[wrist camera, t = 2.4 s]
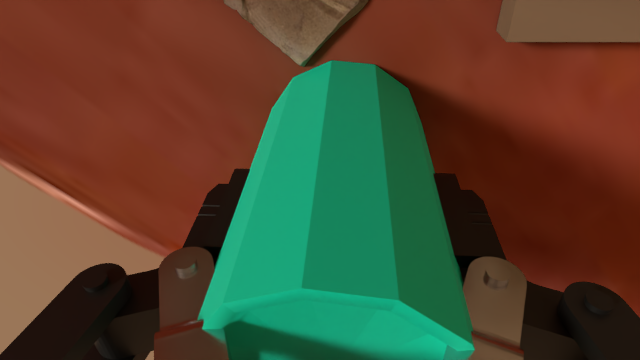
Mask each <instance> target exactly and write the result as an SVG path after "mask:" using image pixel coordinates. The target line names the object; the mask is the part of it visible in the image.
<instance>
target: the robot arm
mask: <svg viewBox="0 0 640 360" xmlns="http://www.w3.org/2000/svg"><path fill="white" fill-rule="evenodd" d="M249 171H250V169H235V170H234V172H233V174H232V177H231V179H230V182H229V184H218V185H217V186H216V187H214V188H213V189H212V190H211V191H210V192H209V193H208V194H207V196H206V198H205V200H204V203H203V207H201V209H200V211H199V213H198V216H197V218H196V220H195V222H194V224H193V226H192V228H191V231H190V233H189V235H188V237H187V239H186V241H185V243H184V246H183V248H181V249H179V250H176V251H174V252H172V253H171V254H169V255H168V256H167V257H166V258H165V259H164V260H163V261H162V262H161V264H160V267H159V268H157V269H154V270H150V271H147V272H142V273H137V274H132V275H126V273H125V271H124V269H123V268H122V267H121V266H119V265H116V264H112V263H105V264H99V265H95V266H93V267H90V268H88V269H86V270H84V271H82V272H81V273H80V274H78V275H77V276H76V277H75V278H74V279H73V280H72V281H71V282H70V283H69V284H68V285H67V286H66V287H65V288H64V289H63V290H62V291H61V292H60V293H59V294H58V295H57V296H56V297H55V298H54V299H53V300H52V301H51V303H50V304H49V305H48V306H47V307H46V308H45V309H44V310H43V311H42V312H41V313H40V314H39V315H38V316H37V317H36V318H35V319H34V320H33V321H32V322H31V323H30V324H29V325H28V326H27V327H26V328H25V330H24V331H23V332H22V333H21V334H20V335H19V336H18V337H17V338H16V339H15V340H14V341H13V342H12V343H11V344H10V345H9V346H8V347H7V348H6V349H5V350H4V351H3V352H2V353H1V354H0V360H145V359H146V357H147V356H148V354H149V353H150V351H153V350H154V360H232V357H231V353H230V349H229V345H228V341H227V337H226V333H225V330H224V328H222V329H202V327H203V324H204V320H203V319H201V320H198V316H199V313H200V311H201V308H202V305H203V302H204V299H205V297H206V294H207V291H208V288H209V286H210V283H211V280H212V277H213V274H214V272H215V264H216V261H217V259H218V256H219V253H220V250H221V248H222V246H223V243H224V240H225V238H226V235H227V232H228V229H229V227H230V224H231V221H232V218H233V216H234V213H235V210H236V207H237V205H238V202H239V199H240V196H241V194H242V191H243V188H244V185H245V183H246V180H247V177H248V174H249ZM433 175H434V179H435V183H436V187H437V191H438V195H439V198H440V202H441V206H442V210H443V214H444V218H445V221H446V225H447V229H448V233H449V237H450V241H451V244H452V248H453V252H454V256H455V258H456V261H457V263H458V265H459V268H460V272H461V275H462V279H463V283H464V285H463V292H464V296H465V300H466V304H467V308H468V312H469V316H470V319H471V323H472V327H473V331H471V335H472V340H473V344H474V348H475V350H466V351H456V350H455V349H454V348H452V347H450V346H449V345H447V347H446V351H445V354H444V358H443V360H640V318H639V317H638V316H637V314H636V313H635V312H634V311H633V310H632V309H631V308H630V307H629V305H628V304H627V303H626V302H625V301H624V300H623V299H622V298H621V297H620V296H619V295H617V294H616V293H614V292H613V291H611V290H610V289H608V288H606V287H603V286H601V285H598V284H595V283H590V282H576V283H573V284H570V285H569V286H568V287H567V288H566V289H565V291H564V292H560V291H557V290H553V289H549V288H546V287H542V286H539V285H536V284H533V283H531V282H529V281H527V280H526V278H525V276H524V274H523V273H522V271H521V270H520V269H519V268H518V267H516V266H515V265H514V264H512V263H510V262H508V261H507V260H506V258H505V255H504V252H503V250H502V247H501V245H500V242H499V240H498V237H497V235H496V232H495V230H494V227H493V225H492V222H491V220H490V217H489V215H488V212H487V209H486V207H485V204H484V202H483V200H482V199H481V198H480V197H479V196H478V195H477V194H475V193H474V192H473V191H472V190H461V189H460V186H459V183H458V180H457V177H456V175H455V174H446V173H433Z"/></svg>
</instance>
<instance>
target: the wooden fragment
mask: <svg viewBox="0 0 640 360" xmlns="http://www.w3.org/2000/svg"><path fill="white" fill-rule="evenodd" d="M367 2H368V0H224V3H225V4H226V5H228V6H229V7H231V8H232V9H235V10H237V11H238V13H239V14H240V15H241V16H242V18H243V19H245V20H247V21H248V22H250V23H251V24H253V25H254V27H255V28H256V29H257V30H258V31H259V32H260V33H261V34H263V35H264V36H265V37H266V38H267V39H269V40H270V41H271V42H272V43H274V44H275V45H276V46H278V47H279V48H280V49H281V51H282V52H283V53H285V54H286V55H288V56H289V57H290V58H291V59H293V60H294V61H295V62H296V63H297V64H299V65H300V66H303V67H304V66H305V65H306V64H307V62H308V61H309V60H310V58H311V57H312V56H313V55H314V54H315V53H316V52H317V51H318V50H319V48H321V46H322V45H323V44H324V43H325V42H326V41H327V40H328V39H329V38H330V37H331V36H332V35H333V34H334V33H335V32H336V31H337V30H338V29H339V28H340V27H341V26H342V25H343V24H345V23H346V22H347V21H348V20H350V19H351V18H352V17H353V16H355V15H356V14H357V13H358V12H359V11H360V10H361V9H362V8H363V7H364V6H365V5H366V4H367Z"/></svg>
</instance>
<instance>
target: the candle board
mask: <svg viewBox="0 0 640 360" xmlns="http://www.w3.org/2000/svg"><path fill="white" fill-rule="evenodd" d="M496 31H497V32H498V33H499V34H500V35H501V36H502V38H503V39H504V40H505V41H506V42H640V0H503V1H502V6H501V11H500V15H499V20H498V24H497V29H496Z"/></svg>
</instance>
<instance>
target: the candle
mask: <svg viewBox="0 0 640 360" xmlns="http://www.w3.org/2000/svg"><path fill="white" fill-rule="evenodd" d="M433 173H435V171H434V168H433V164H432V160H431V156H430V153H429V149H428V145H427V141H426V138H425V134H424V130H423V127H422V123H421V120H420V118H419V115H418V112H417V110H416V107H415V105H414V102H413V99H412V97H411V94H410V92H409V89H408V88H407V87H405V86H404V85H403V84H401V83H400V82H399V81H397V80H396V79H394V78H393V77H392V76H390V75H389V74H387V73H386V72H385V71H383V70H382V69H380V68H379V67H378V66H376V65H375V64H364V63H354V62H344V61H334V60H331V61H329V62H327V63H324V64H322V65H320V66H318V67H315V68H313V69H311V70H309V71H306V72H304V73H302V74H300V75H297V76H295V77H293V79H292V80H291V81H290V83H289V84H288V86H287V87H286V89H285V90H284V92H283V93H282V95H281V96H280V98H279V99H278V100H277V102H276V103H275V105H274V106H273V108H272V110H271V113H270V115H269V118H268V121H267V124H266V127H265V129H264V132H263V135H262V138H261V140H260V143H259V146H258V149H257V151H256V154H255V157H254V160H253V162H252V165H251V168H250V171H249V174H248V177H247V180H246V183H245V185H244V188H243V191H242V194H241V196H240V199H239V202H238V205H237V207H236V210H235V213H234V216H233V218H232V221H231V224H230V227H229V229H228V232H227V235H226V238H225V240H224V243H223V246H222V248H221V250H220V253H219V256H218V259H217V261H216V264H215V272H214V274H213V277H212V280H211V283H210V286H209V288H208V291H207V294H206V297H205V299H204V302H203V305H202V308H201V311H200V313H199V316H198V320H201V319H203V320H204V324H203V327H202V329H222V328H224V330H225V333H226V337H227V341H228V345H229V349H230V353H231V357H232V360H443V358H444V354H445V351H446V347H447V345H449V346H450V347H452V348H454V349H455V350H456V351H466V350H475V348H474V344H473V340H472V335H471V331H473V327H472V323H471V319H470V316H469V312H468V308H467V304H466V300H465V296H464V292H463V285H464V283H463V279H462V275H461V272H460V268H459V265H458V263H457V261H456V258H455V256H454V252H453V248H452V244H451V241H450V237H449V233H448V229H447V225H446V221H445V218H444V214H443V210H442V206H441V202H440V198H439V195H438V191H437V187H436V183H435V179H434V175H433Z"/></svg>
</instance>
